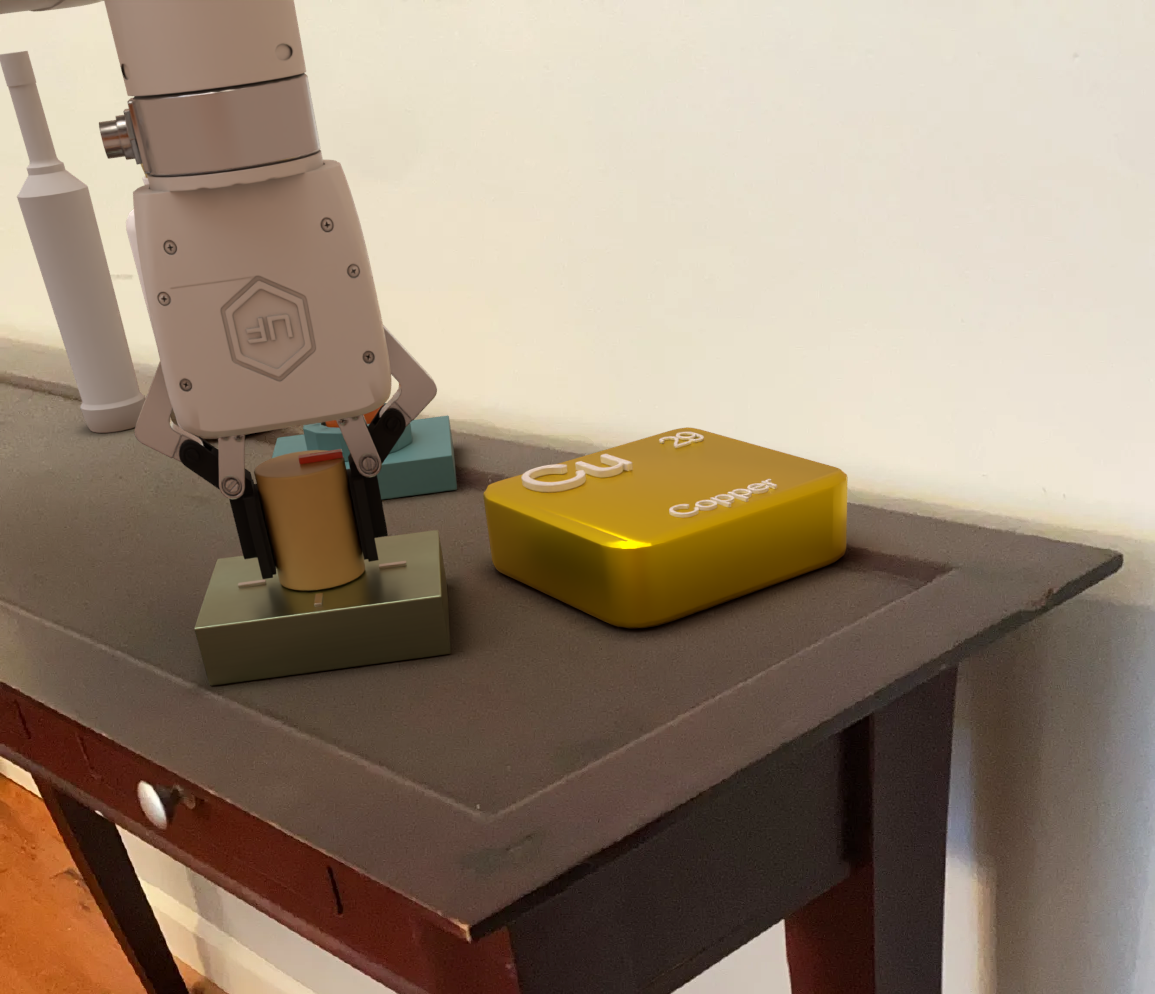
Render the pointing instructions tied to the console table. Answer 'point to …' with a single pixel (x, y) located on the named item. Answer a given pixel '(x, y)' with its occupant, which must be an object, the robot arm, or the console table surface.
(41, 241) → the bottle
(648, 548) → the element tile
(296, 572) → the knob
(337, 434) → the button base
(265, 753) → the console table surface
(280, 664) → the panel
